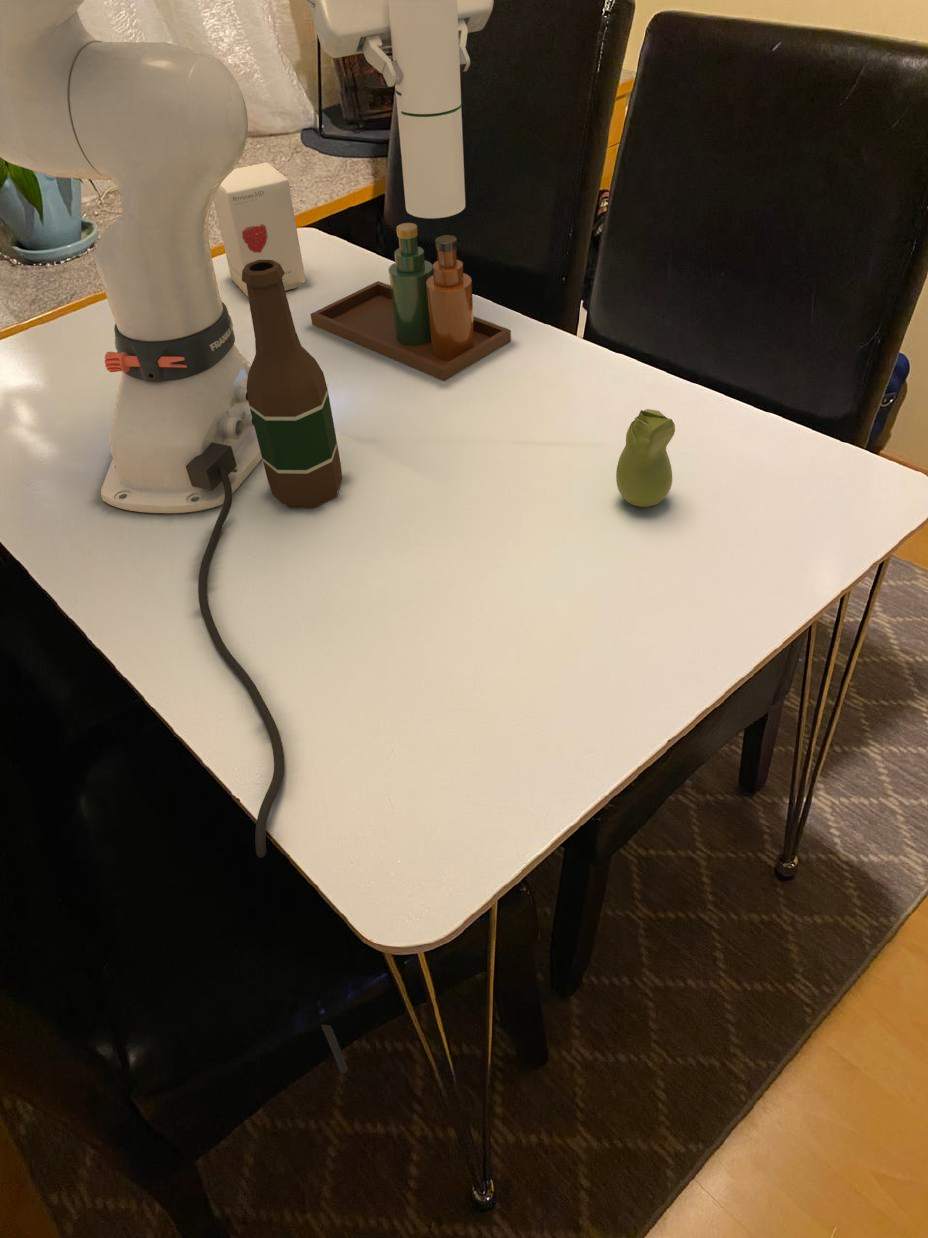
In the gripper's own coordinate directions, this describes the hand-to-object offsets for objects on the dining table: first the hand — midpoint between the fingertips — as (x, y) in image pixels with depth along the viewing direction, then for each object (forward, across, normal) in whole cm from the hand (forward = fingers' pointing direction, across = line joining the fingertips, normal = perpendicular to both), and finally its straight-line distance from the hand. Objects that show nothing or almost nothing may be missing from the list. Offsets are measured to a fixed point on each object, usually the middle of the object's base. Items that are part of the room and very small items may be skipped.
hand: (430, 75), depth 97 cm
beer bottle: (+36, -29, +7) cm, 47 cm away
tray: (+20, -4, +23) cm, 31 cm away
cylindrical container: (+10, 0, +10) cm, 14 cm away
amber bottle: (+24, -2, +17) cm, 30 cm away
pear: (+51, -2, -9) cm, 52 cm away
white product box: (0, -13, +43) cm, 45 cm away
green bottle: (+20, -4, +22) cm, 30 cm away
